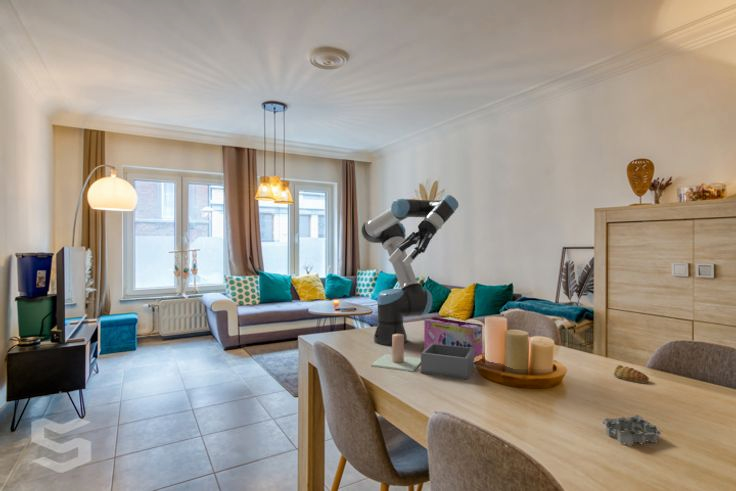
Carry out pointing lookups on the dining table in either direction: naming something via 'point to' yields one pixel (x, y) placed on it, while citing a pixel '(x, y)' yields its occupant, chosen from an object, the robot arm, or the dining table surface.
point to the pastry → (630, 374)
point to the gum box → (453, 334)
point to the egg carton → (631, 430)
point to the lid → (397, 357)
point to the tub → (447, 361)
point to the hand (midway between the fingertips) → (397, 262)
